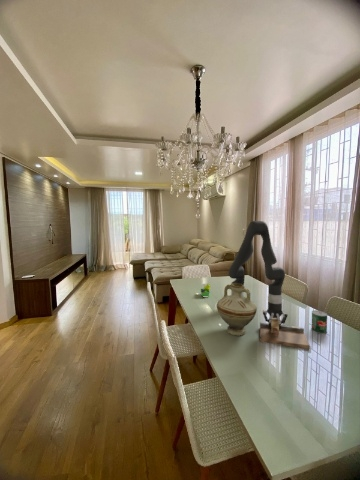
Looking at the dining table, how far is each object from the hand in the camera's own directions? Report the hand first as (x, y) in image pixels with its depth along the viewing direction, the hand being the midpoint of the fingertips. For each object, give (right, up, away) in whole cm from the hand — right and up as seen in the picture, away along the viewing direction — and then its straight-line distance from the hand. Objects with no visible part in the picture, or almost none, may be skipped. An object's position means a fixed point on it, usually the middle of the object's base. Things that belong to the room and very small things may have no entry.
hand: (274, 328), depth 125 cm
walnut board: (+3, -4, -3) cm, 6 cm away
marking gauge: (-1, -1, -3) cm, 3 cm away
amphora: (-21, -4, +6) cm, 23 cm away
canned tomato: (+29, -3, +3) cm, 29 cm away
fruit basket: (-33, +1, +69) cm, 76 cm away
